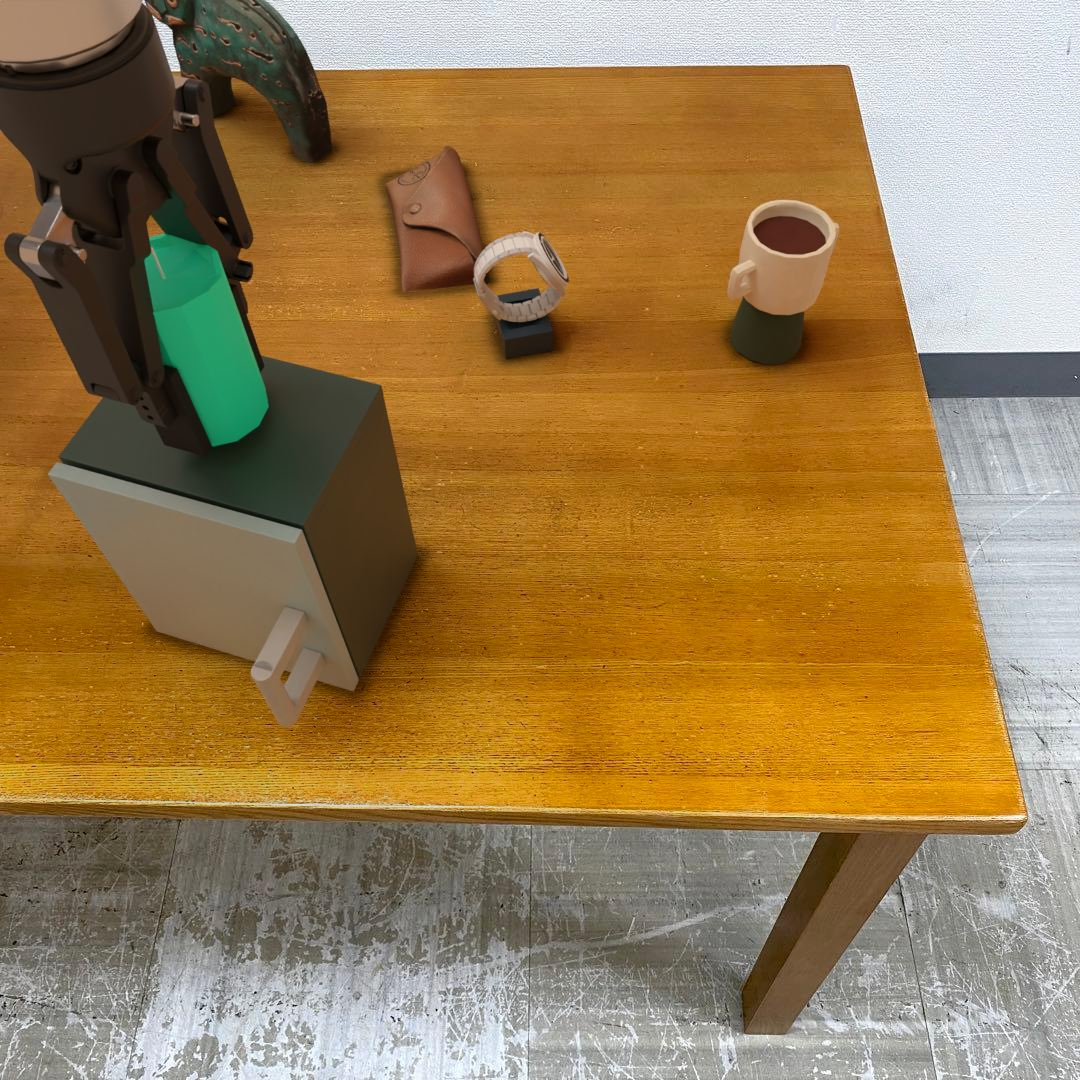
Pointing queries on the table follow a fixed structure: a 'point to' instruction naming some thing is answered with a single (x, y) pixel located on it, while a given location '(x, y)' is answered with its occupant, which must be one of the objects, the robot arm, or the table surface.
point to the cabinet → (290, 483)
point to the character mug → (779, 277)
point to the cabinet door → (218, 582)
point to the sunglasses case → (435, 224)
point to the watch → (523, 294)
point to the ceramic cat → (250, 63)
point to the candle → (205, 337)
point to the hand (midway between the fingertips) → (215, 404)
